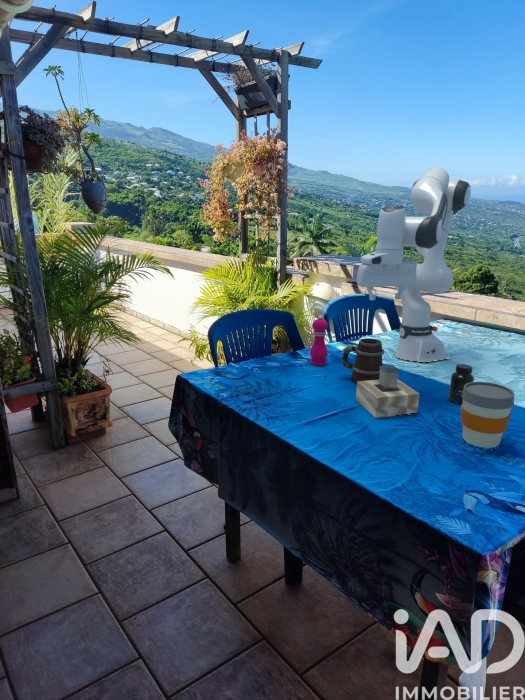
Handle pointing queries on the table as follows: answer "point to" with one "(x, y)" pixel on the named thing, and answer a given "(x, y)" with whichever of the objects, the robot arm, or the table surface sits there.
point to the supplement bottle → (460, 382)
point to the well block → (387, 399)
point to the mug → (364, 359)
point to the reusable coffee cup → (485, 413)
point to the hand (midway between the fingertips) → (385, 299)
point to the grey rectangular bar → (388, 378)
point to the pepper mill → (319, 342)
